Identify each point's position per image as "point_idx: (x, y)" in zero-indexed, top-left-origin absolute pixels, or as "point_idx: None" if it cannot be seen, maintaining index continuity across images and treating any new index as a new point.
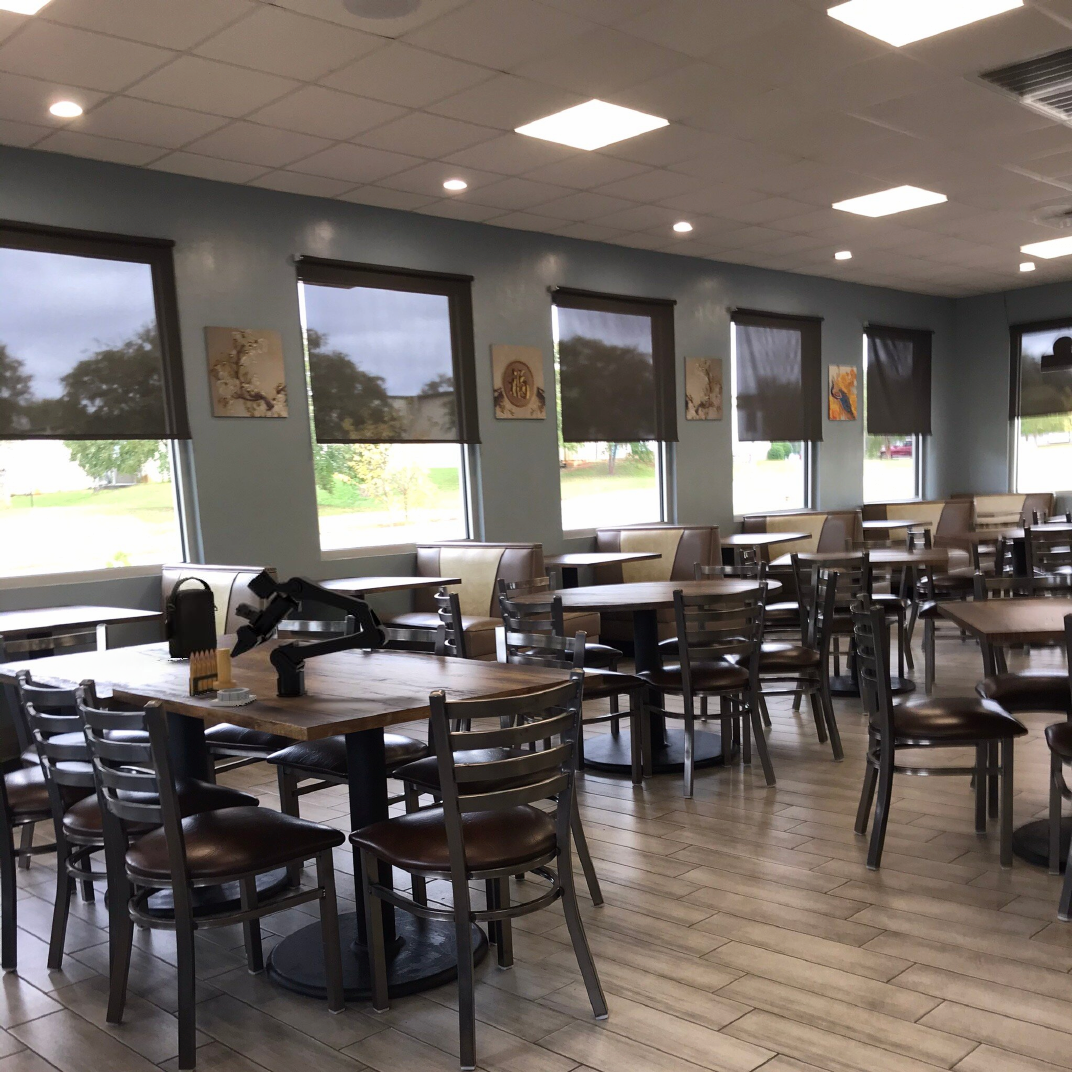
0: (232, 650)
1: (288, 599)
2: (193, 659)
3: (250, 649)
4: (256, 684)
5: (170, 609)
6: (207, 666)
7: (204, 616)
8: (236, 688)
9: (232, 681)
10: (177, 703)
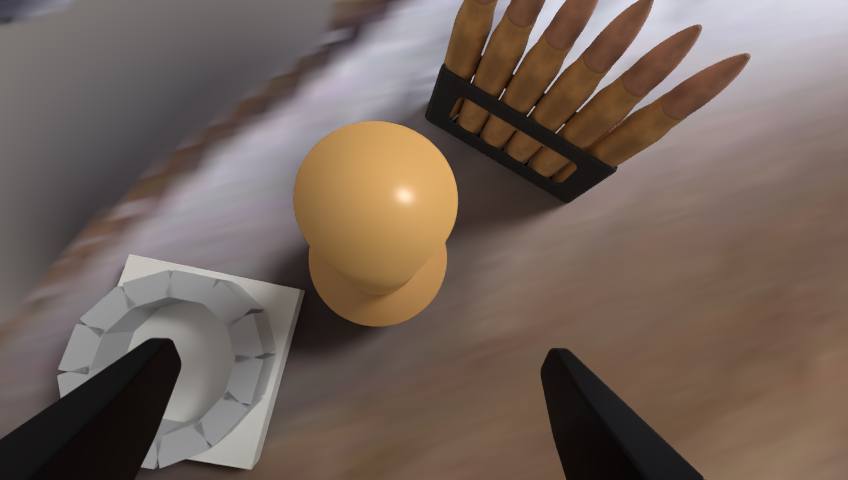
0: (59, 400)
1: None
2: None
3: (565, 473)
4: (678, 326)
5: None
6: (559, 89)
7: None
8: (237, 364)
9: (394, 295)
10: (266, 90)
